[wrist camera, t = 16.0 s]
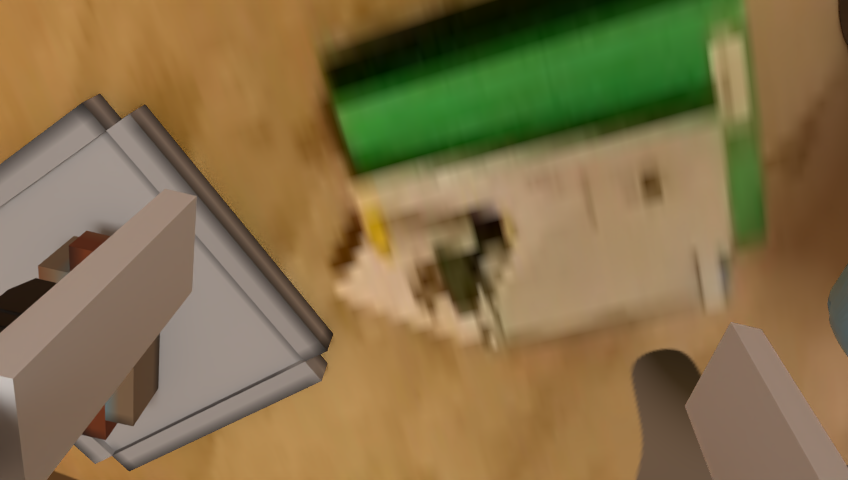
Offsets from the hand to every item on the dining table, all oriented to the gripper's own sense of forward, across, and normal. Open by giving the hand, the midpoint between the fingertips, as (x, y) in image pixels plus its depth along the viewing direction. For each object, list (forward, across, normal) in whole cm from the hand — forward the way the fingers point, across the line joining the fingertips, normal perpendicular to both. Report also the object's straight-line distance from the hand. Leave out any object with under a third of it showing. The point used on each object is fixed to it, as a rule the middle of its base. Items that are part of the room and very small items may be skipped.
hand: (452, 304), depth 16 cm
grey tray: (+34, +26, +30) cm, 53 cm away
